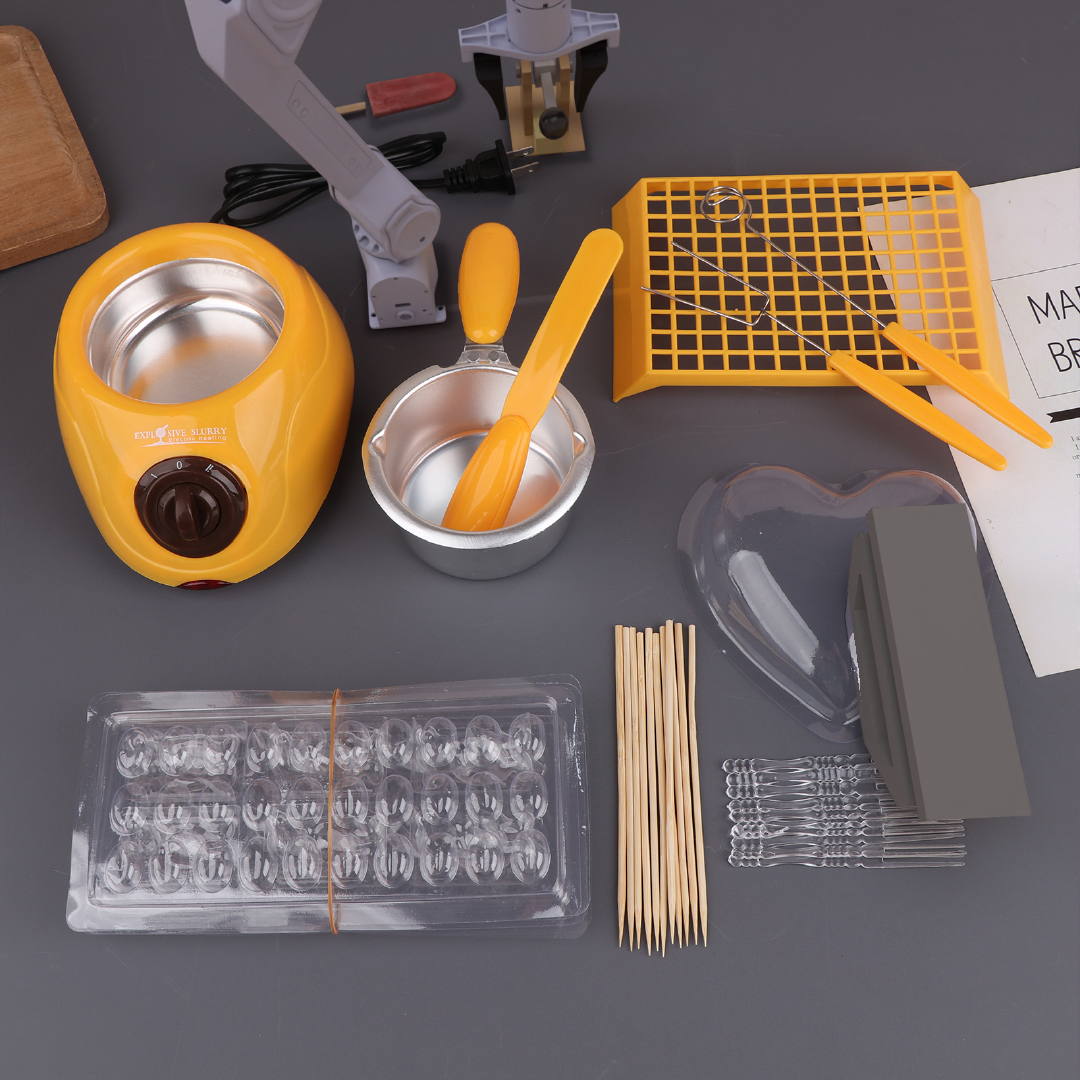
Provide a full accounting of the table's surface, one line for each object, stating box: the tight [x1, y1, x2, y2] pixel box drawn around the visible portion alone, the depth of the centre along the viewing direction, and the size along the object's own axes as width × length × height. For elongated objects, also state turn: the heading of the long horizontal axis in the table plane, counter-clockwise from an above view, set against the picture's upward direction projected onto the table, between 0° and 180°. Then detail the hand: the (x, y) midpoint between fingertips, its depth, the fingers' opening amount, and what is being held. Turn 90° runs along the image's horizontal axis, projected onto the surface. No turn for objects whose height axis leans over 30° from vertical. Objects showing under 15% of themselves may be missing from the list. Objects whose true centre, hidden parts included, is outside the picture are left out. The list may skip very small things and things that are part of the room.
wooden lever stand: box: [504, 53, 586, 157], centre depth 97 cm, size 10×8×10 cm
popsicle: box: [334, 71, 457, 118], centre depth 102 cm, size 4×2×15 cm
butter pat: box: [533, 107, 563, 156], centre depth 98 cm, size 4×3×2 cm
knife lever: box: [531, 58, 569, 140], centre depth 92 cm, size 12×3×3 cm, turn 6°
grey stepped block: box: [846, 502, 1033, 822], centre depth 76 cm, size 25×8×11 cm, turn 3°
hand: (540, 108), depth 89 cm, fingers open, 7 cm apart
